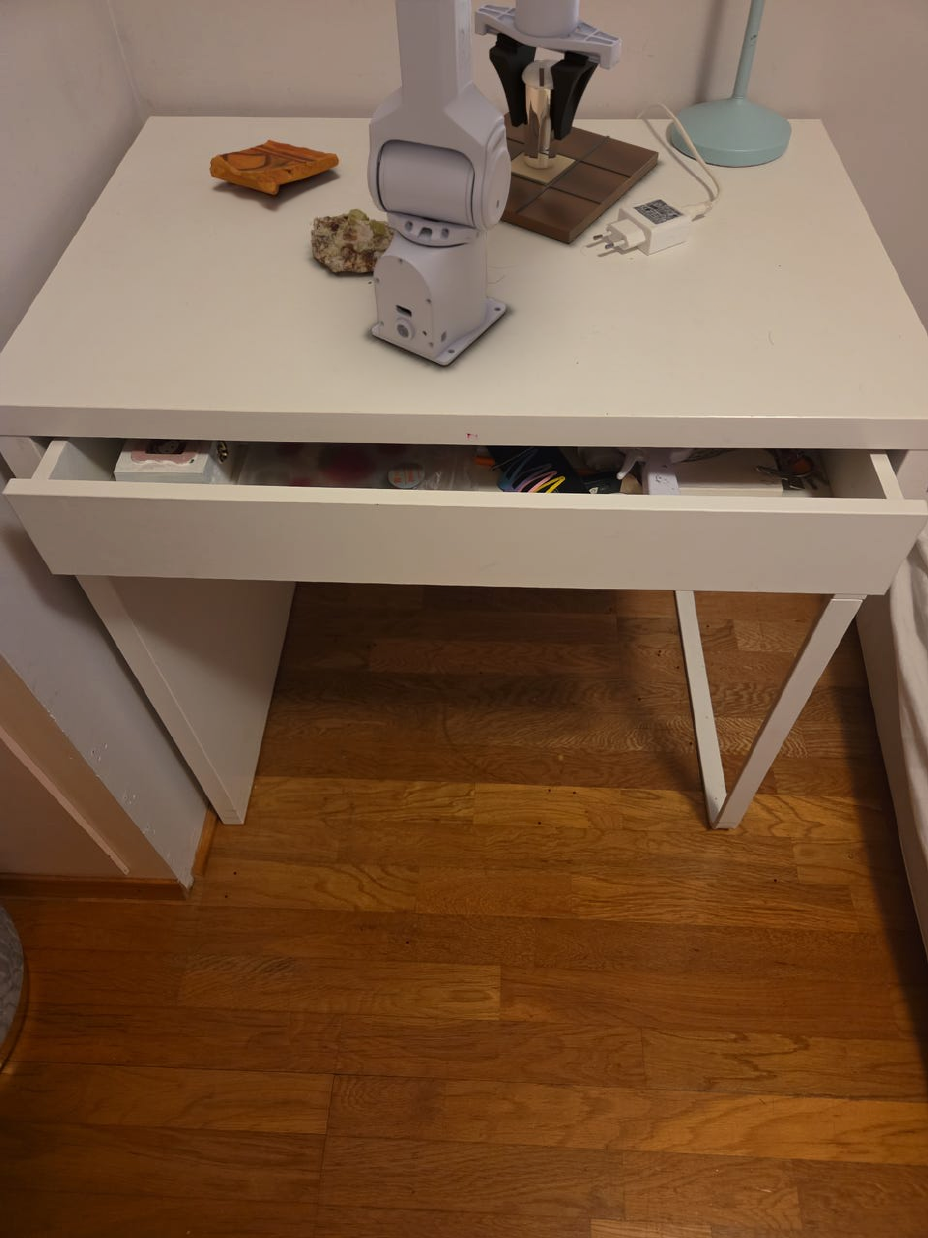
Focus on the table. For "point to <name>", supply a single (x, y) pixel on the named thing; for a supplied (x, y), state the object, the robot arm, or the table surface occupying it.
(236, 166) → the pottery fragment
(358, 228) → the mineral rock
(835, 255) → the table surface
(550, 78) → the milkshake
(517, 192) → the board
